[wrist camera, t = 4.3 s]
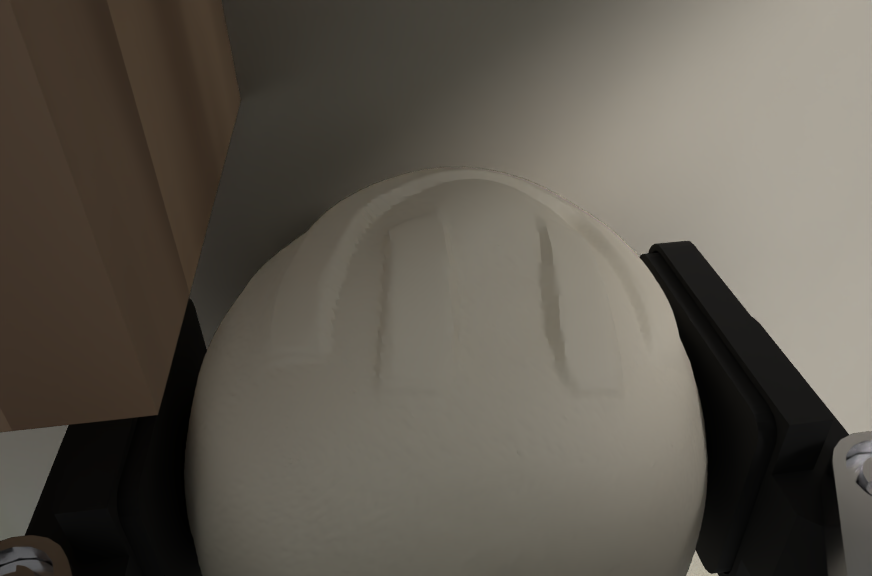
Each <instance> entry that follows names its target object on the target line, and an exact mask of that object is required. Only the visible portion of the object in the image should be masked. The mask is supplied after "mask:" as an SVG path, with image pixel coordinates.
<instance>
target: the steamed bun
mask: <svg viewBox="0 0 872 576" xmlns="http://www.w3.org/2000/svg"><path fill="white" fill-rule="evenodd" d="M707 465H708V455H707V441H706V431H705V423H704V417H703V411H702V405H701V401H700V397H699V393H698V388H697V385H696V382H695V379H694V375H693V371H692V368H691V363H690V360H689V358H688V356H687V354H686V351H685V349H684V347H683V344H682V342H681V340H680V337H679V332H678V328H677V324H676V321H675V317H674V314H673V311H672V309H671V306H670V304H669V302H668V300H667V298H666V296H665V294H664V292H663V290H662V289H661V287H660V285H659V284H658V282H657V281H656V280H655V278H654V276H653V275H652V273H651V272H650V270H649V269H648V268H647V266H646V265H645V264H644V262H643V261H642V260H641V259H640V258H639V256H638V255H637V254H636V253H635V252H634V251H633V250H632V249H631V248H630V247H629V246H628V245H627V244H626V243H625V242H624V241H623V240H622V239H621V238H620V237H619V236H618V235H617V234H616V233H615V232H614V231H613V230H611V229H610V228H609V227H608V226H606V225H605V224H604V223H602V222H601V221H599V220H598V219H596V218H595V217H593V216H592V215H591V214H589V213H588V212H586V211H584V210H583V209H581V208H579V207H578V206H576V205H575V204H573V203H572V202H570V201H568V200H567V199H565V198H563V197H561V196H560V195H558V194H556V193H554V192H552V191H550V190H548V189H546V188H544V187H542V186H540V185H538V184H536V183H533V182H530V181H528V180H526V179H523V178H519V177H517V176H514V175H509V174H507V173H503V172H498V171H494V170H487V169H480V168H473V167H440V168H430V169H425V170H419V171H415V172H409V173H405V174H402V175H398V176H396V177H393V178H389V179H386V180H383V181H381V182H378V183H375V184H373V185H371V186H369V187H367V188H364V189H361V190H359V191H358V192H356V193H354V194H352V195H351V196H349V197H347V198H345V199H343V200H342V201H340V202H339V203H337V204H336V205H335V206H334V207H332V208H330V209H329V210H328V211H327V212H325V213H324V214H323V215H322V216H321V217H320V218H319V219H318V220H317V221H316V222H315V223H314V224H313V225H312V226H311V228H310V229H309V230H308V231H307V232H306V233H304V234H303V235H301V236H300V237H299V238H297V239H296V240H294V241H292V242H291V243H290V244H289V245H288V246H287V247H286V248H283V249H282V250H281V251H279V252H278V253H277V254H276V255H275V256H273V257H272V258H270V260H269V261H267V262H266V263H265V265H263V266H262V267H261V268H260V269H259V270H258V271H257V273H256V274H255V275H254V276H253V277H252V278H251V280H250V281H249V283H248V284H247V286H246V287H245V288H244V290H243V292H242V293H241V294H240V295H239V297H238V298H237V300H236V301H235V303H234V304H233V305H232V306H231V308H230V309H229V310H228V313H227V314H226V316H225V317H224V319H223V320H222V322H221V324H220V326H219V327H218V329H217V331H216V332H215V334H214V336H213V339H212V340H211V343H210V345H209V347H208V349H207V352H206V354H205V357H204V359H203V363H202V365H201V369H200V372H199V375H198V380H197V385H196V388H195V394H194V398H193V403H192V407H191V414H190V418H189V428H188V433H187V441H186V449H185V463H184V489H185V499H186V508H187V515H188V517H187V518H188V520H189V526H190V530H191V534H192V536H193V539H194V545H195V548H196V553H197V557H198V563H199V566H200V569H201V574H202V575H203V576H686V574H687V572H688V570H689V566H690V563H691V562H692V557H693V555H694V552H695V549H696V544H697V540H698V537H699V532H700V530H701V524H702V520H703V513H704V509H705V501H706V494H707V482H708V480H707V476H708V472H707V468H708V467H707Z"/></svg>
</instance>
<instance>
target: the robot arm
mask: <svg viewBox="0 0 872 576" xmlns="http://www.w3.org/2000/svg"><path fill="white" fill-rule="evenodd" d="M640 259H641V260H642V261H643V262H644V264H645V265H646V266H647V268H648V269H649V270H650V272H651V273H652V275H653V276H654V278H655V280H656V281H657V282H658V284H659V285H660V287H661V289H662V290H663V292H664V294H665V296H666V298H667V300H668V302H669V304H670V306H671V309H672V311H673V314H674V317H675V321H676V324H677V328H678V332H679V337H680V340H681V342H682V344H683V347H684V349H685V351H686V354H687V356H688V358H689V360H690V363H691V368H692V371H693V375H694V379H695V382H696V385H697V388H698V393H699V397H700V401H701V405H702V411H703V417H704V423H705V431H706V441H707V455H708V465H707V467H708V468H707V472H708V476H707V480H708V482H707V494H706V501H705V509H704V513H703V520H702V524H701V530H700V532H699V537H698V540H697V544H696V549H695V550H696V552H697V554H698V556H699V558H700V560H701V562H702V564H703V566H704V567H705V569H706V570H707V571H708V572H709V573H711V574H713V573H718V575H719V576H872V431H867V432H859V433H853V434H851V435H849V434H848V433H847V431H846V430H845V429H844V428H843V426H842V425H841V424H840V423H839V421H838V420H837V419H836V418H835V416H834V415H833V414H832V413H831V411H830V410H829V409H828V408H827V407H826V405H825V404H824V403H823V402H822V400H821V399H820V398H819V397H818V395H817V394H816V393H815V392H814V390H813V389H812V388H811V387H810V385H809V384H808V383H807V382H806V380H805V379H804V378H803V377H802V375H801V374H800V373H799V372H798V370H797V369H796V368H795V367H794V366H793V364H792V363H791V362H790V361H789V359H788V358H787V357H786V356H785V354H784V353H783V352H782V351H781V349H780V348H779V347H778V346H777V344H776V343H775V342H774V341H773V339H772V338H771V337H770V336H769V334H768V333H767V332H766V331H765V329H764V328H763V327H762V326H761V324H760V323H759V322H758V321H756V320H755V319H754V318H753V317H751V316H750V314H749V313H748V312H747V311H746V309H745V308H744V307H743V306H742V304H741V303H740V302H739V301H738V299H737V298H736V297H735V296H734V294H733V293H732V292H731V291H730V289H729V288H728V287H727V286H726V284H725V283H724V282H723V281H722V279H721V278H720V277H719V276H718V274H717V273H716V272H715V271H714V269H713V268H712V267H711V266H710V264H709V263H708V262H707V261H706V259H705V258H704V257H703V256H702V254H701V253H700V252H699V251H698V249H697V248H696V247H695V246H694V244H692V243H691V242H690V241H680V242H670V243H659V244H654V245H652V246H651V248H650V250H649V253H648V254H642V255H641V256H640ZM206 352H207V349H206V345H205V342H204V338H203V335H202V331H201V328H200V324H199V321H198V317H197V314H196V310H195V307H194V304H193V302H192V300H191V299H188V303H187V307H186V310H185V314H184V318H183V322H182V325H181V329H180V333H179V337H178V341H177V344H176V348H175V352H174V356H173V360H172V363H171V367H170V371H169V375H168V378H167V382H166V386H165V390H164V394H163V397H162V401H161V405H160V409H159V413H158V415H153V416H144V417H135V418H126V419H117V420H108V421H98V422H89V423H80V424H71V425H69V426H68V428H67V431H66V433H65V436H64V438H63V441H62V443H61V446H60V448H59V451H58V453H57V456H56V458H55V461H54V463H53V466H52V468H51V471H50V473H49V476H48V478H47V481H46V483H45V486H44V489H43V491H42V494H41V496H40V499H39V501H38V504H37V506H36V509H35V511H34V514H33V516H32V519H31V521H30V524H29V526H28V529H27V531H26V534H25V536H18V537H11V538H8V539H5V540H2V541H0V576H203V575H202V574H201V569H200V566H199V563H198V557H197V553H196V548H195V545H194V539H193V536H192V534H191V530H190V526H189V520H188V518H187V517H188V515H187V508H186V499H185V489H184V463H185V449H186V441H187V433H188V428H189V418H190V414H191V407H192V403H193V398H194V394H195V388H196V385H197V380H198V375H199V372H200V369H201V365H202V363H203V359H204V357H205V354H206Z"/></svg>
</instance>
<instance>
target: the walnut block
mask: <svg viewBox="0 0 872 576" xmlns="http://www.w3.org/2000/svg"><path fill="white" fill-rule="evenodd" d="M240 102H241V98H240V93H239V88H238V83H237V77H236V72H235V67H234V62H233V57H232V52H231V47H230V41H229V36H228V31H227V26H226V21H225V16H224V11H223V5H222V0H0V432H7V431H16V430H26V429H35V428H44V427H53V426H62V425H71V424H80V423H89V422H98V421H108V420H117V419H126V418H135V417H144V416H153V415H158V413H159V409H160V405H161V401H162V397H163V394H164V390H165V386H166V382H167V378H168V375H169V371H170V367H171V363H172V360H173V356H174V352H175V348H176V344H177V341H178V337H179V333H180V329H181V325H182V322H183V318H184V314H185V310H186V307H187V303H188V299H189V295H190V291H191V288H192V284H193V280H194V276H195V272H196V269H197V265H198V261H199V257H200V254H201V250H202V246H203V242H204V238H205V235H206V231H207V227H208V223H209V219H210V216H211V212H212V208H213V204H214V201H215V197H216V193H217V189H218V185H219V182H220V178H221V174H222V170H223V167H224V163H225V159H226V155H227V151H228V148H229V144H230V140H231V136H232V132H233V129H234V125H235V121H236V117H237V114H238V110H239V106H240Z"/></svg>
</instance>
